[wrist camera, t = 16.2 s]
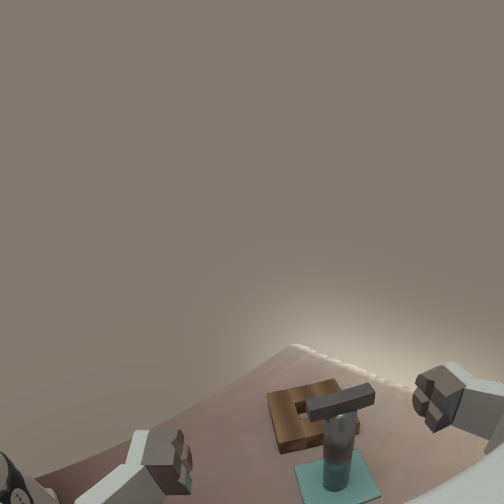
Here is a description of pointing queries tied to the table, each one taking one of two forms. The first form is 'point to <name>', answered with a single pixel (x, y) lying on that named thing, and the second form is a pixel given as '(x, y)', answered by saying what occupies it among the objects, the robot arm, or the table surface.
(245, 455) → the table surface
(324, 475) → the gunmetal T-key
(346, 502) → the teal rubber mat
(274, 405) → the walnut key-slot block
